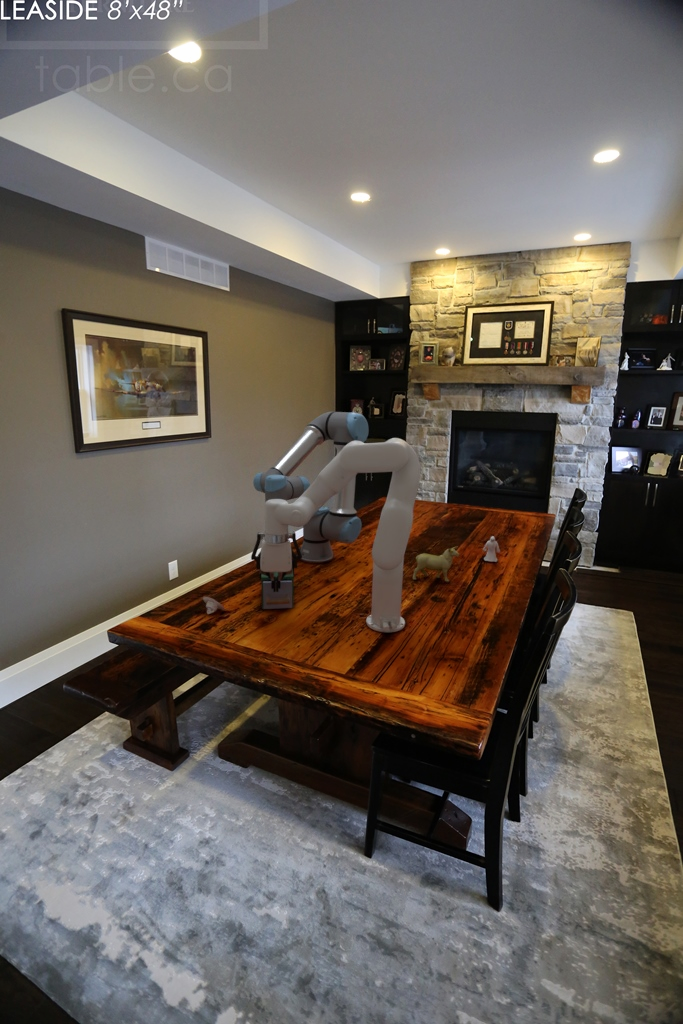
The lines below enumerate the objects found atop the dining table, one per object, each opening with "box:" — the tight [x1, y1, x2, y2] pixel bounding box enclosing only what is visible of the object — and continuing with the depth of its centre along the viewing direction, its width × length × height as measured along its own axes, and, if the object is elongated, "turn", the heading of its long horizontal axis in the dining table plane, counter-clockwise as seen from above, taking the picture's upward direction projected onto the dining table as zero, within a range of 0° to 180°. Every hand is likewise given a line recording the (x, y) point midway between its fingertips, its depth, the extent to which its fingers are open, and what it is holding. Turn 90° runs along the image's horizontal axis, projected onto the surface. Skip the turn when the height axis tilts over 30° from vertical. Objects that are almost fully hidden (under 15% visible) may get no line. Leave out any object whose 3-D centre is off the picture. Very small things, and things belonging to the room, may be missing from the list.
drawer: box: [263, 579, 292, 610], centre depth 173 cm, size 21×10×10 cm, turn 8°
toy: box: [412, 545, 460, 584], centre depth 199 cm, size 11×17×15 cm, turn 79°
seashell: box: [202, 596, 226, 615], centre depth 167 cm, size 8×5×8 cm
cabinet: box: [260, 569, 295, 610], centre depth 179 cm, size 16×11×12 cm, turn 8°
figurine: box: [482, 535, 501, 563], centre depth 223 cm, size 8×8×12 cm
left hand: (277, 576), depth 183 cm, fingers closed on cabinet, 11 cm apart
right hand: (275, 590), depth 165 cm, fingers closed
